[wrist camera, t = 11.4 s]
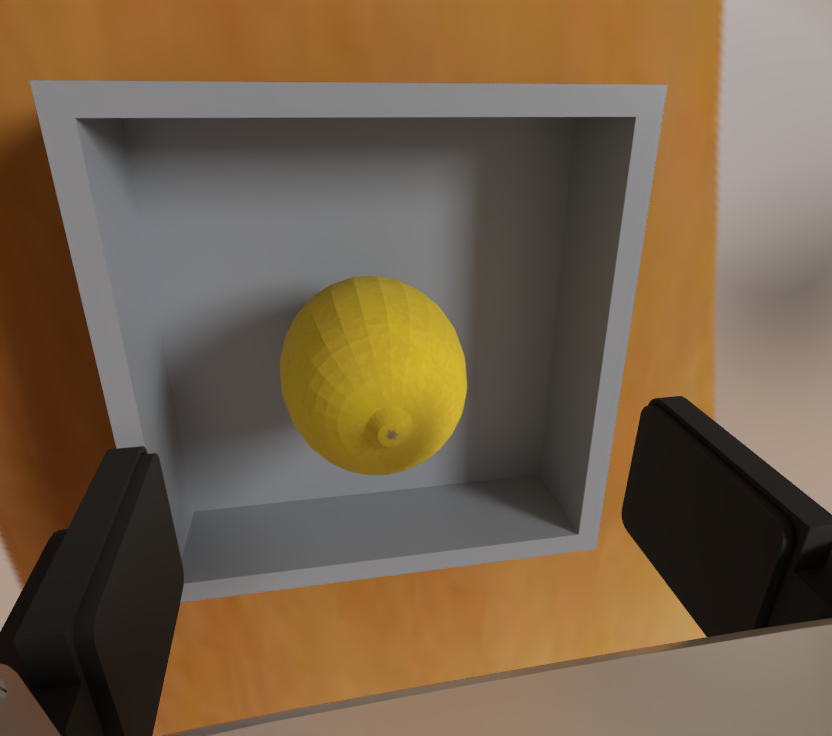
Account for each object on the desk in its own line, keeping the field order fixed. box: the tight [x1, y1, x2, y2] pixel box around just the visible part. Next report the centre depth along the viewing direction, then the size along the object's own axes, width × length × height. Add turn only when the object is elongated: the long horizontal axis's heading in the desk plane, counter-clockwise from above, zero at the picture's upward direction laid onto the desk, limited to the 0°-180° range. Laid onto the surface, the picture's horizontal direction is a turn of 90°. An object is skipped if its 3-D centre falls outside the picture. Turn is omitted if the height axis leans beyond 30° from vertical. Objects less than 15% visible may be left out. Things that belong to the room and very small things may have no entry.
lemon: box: [280, 276, 467, 475], centre depth 18 cm, size 6×6×8 cm
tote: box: [30, 80, 668, 603], centre depth 20 cm, size 16×16×5 cm
